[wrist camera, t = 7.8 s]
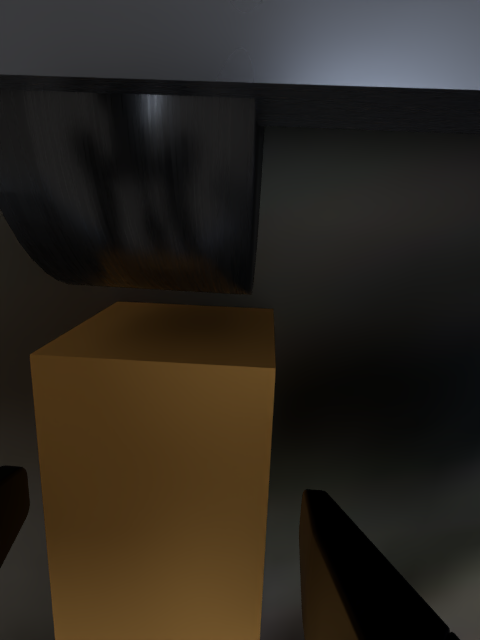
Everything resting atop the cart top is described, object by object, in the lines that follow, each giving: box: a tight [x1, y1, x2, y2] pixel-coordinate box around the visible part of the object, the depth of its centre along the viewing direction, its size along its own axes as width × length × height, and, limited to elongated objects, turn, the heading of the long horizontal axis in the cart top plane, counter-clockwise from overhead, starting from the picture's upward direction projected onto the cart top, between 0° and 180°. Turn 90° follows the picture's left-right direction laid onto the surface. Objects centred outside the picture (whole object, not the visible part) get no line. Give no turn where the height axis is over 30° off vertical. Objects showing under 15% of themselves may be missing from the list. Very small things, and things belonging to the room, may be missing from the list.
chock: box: [30, 301, 276, 640], centre depth 10 cm, size 6×4×4 cm, turn 178°
